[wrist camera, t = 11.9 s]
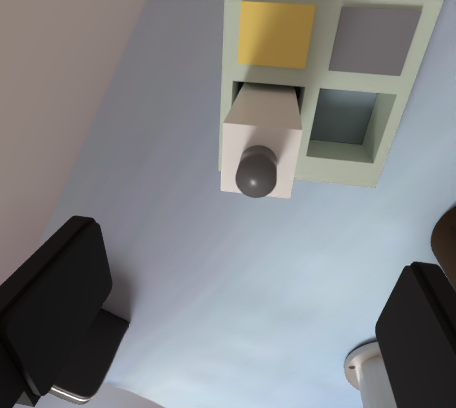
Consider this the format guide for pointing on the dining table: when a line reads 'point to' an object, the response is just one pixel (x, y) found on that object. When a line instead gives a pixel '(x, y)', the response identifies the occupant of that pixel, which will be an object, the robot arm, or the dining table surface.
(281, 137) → the plug
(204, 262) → the dining table surface
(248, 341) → the dining table surface
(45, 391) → the robot arm
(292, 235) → the dining table surface
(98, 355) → the battery charger
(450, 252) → the olive oil
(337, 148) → the socket block
